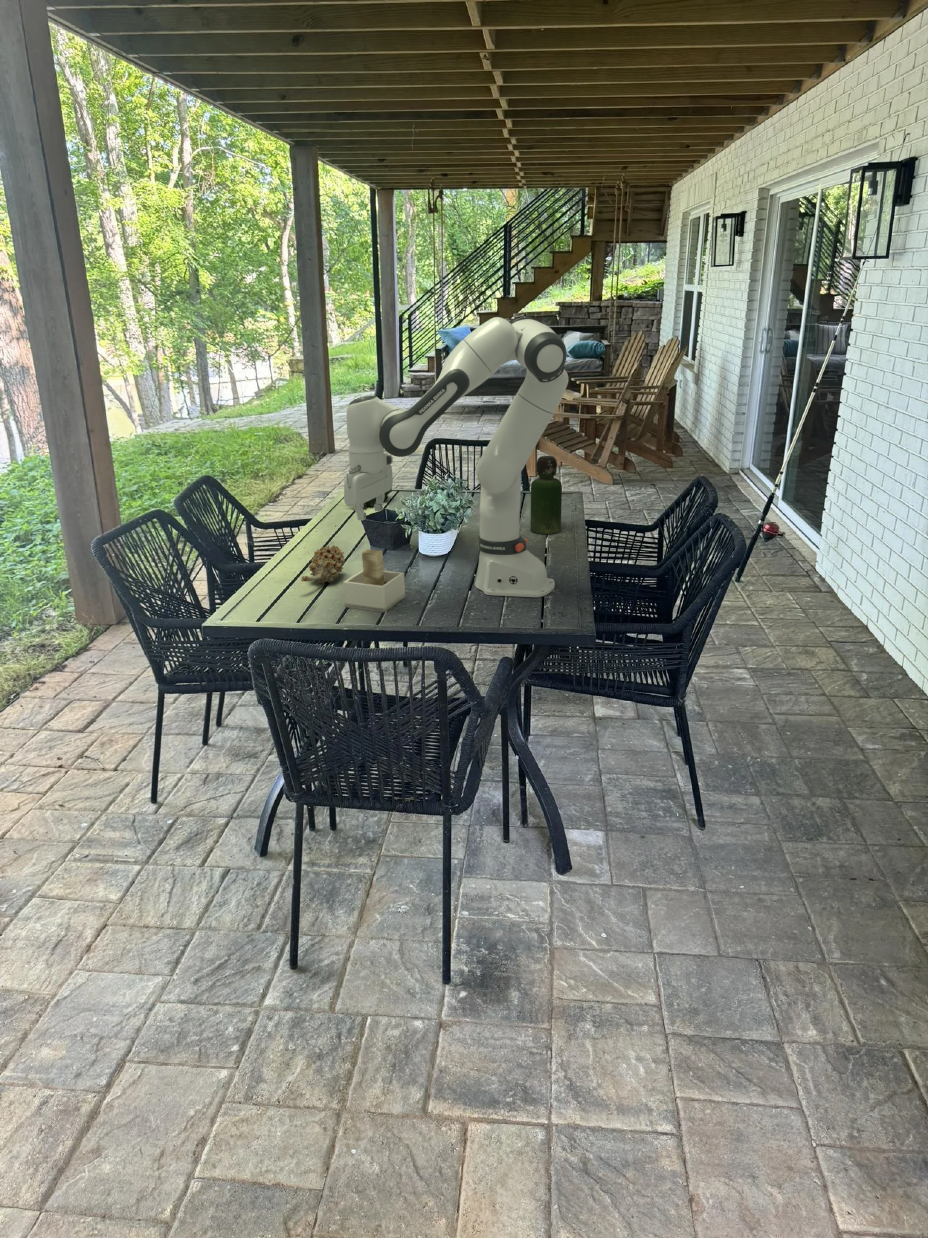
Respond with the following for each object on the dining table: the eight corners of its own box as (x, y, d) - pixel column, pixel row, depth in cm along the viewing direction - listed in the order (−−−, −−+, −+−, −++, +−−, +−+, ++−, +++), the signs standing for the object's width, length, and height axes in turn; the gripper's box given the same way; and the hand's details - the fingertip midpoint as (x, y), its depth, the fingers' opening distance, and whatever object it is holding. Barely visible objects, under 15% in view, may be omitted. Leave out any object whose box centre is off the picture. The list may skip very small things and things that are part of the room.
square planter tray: (405, 597, 235) (404, 572, 233) (385, 612, 225) (383, 587, 223) (366, 592, 240) (364, 568, 237) (344, 607, 229) (343, 582, 227)
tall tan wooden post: (385, 596, 232) (382, 550, 228) (380, 600, 230) (377, 554, 225) (370, 595, 234) (367, 549, 229) (365, 598, 231) (362, 552, 227)
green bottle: (524, 530, 294) (524, 457, 285) (545, 524, 301) (546, 453, 291) (545, 536, 287) (547, 461, 278) (567, 530, 293) (569, 457, 284)
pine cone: (321, 571, 258) (318, 539, 254) (352, 573, 256) (349, 540, 252) (292, 596, 238) (288, 562, 234) (324, 598, 236) (321, 564, 232)
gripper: (358, 471, 209) (362, 526, 214) (395, 455, 226) (398, 506, 231) (335, 469, 211) (339, 524, 216) (374, 454, 228) (377, 505, 234)
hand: (370, 515), depth 224 cm, fingers open, 8 cm apart
